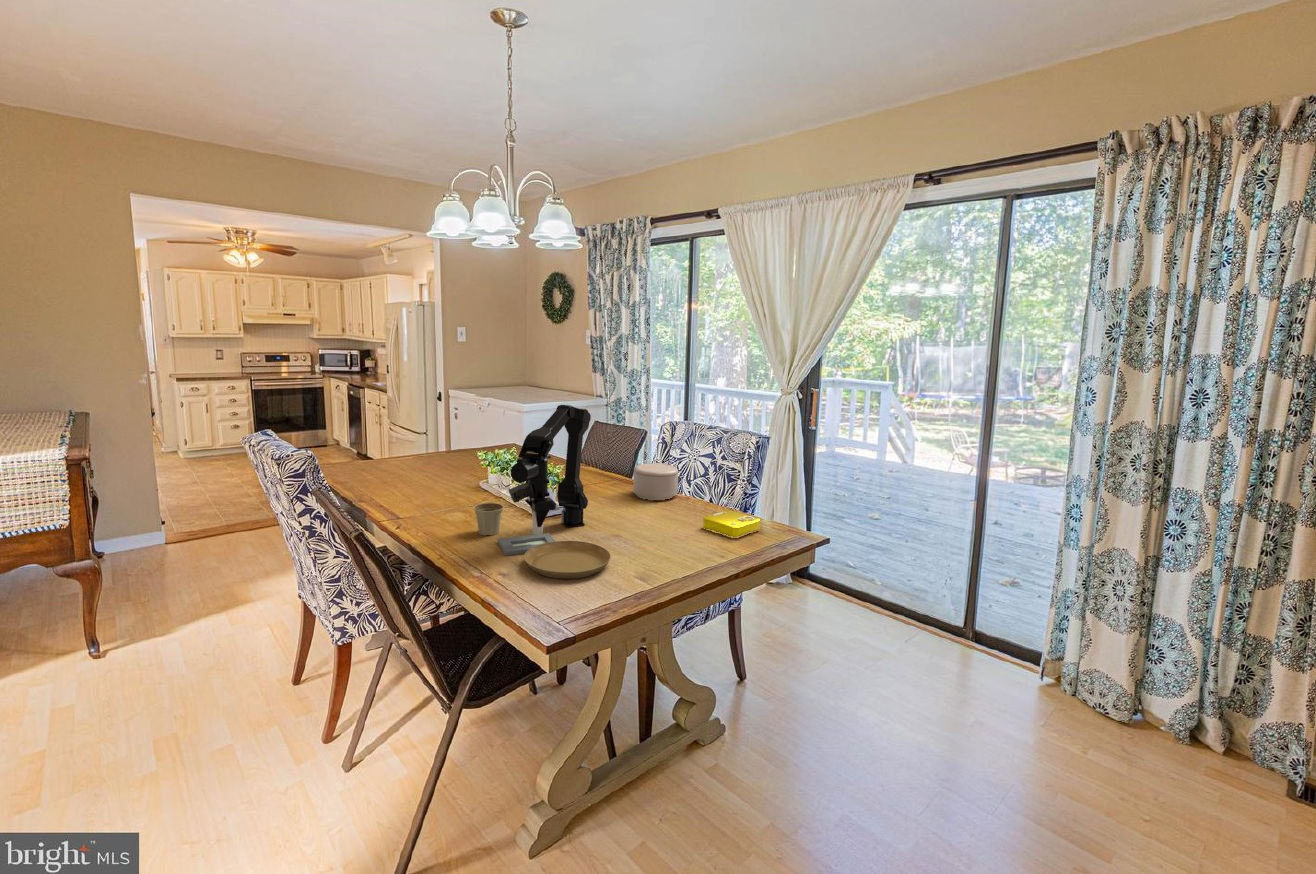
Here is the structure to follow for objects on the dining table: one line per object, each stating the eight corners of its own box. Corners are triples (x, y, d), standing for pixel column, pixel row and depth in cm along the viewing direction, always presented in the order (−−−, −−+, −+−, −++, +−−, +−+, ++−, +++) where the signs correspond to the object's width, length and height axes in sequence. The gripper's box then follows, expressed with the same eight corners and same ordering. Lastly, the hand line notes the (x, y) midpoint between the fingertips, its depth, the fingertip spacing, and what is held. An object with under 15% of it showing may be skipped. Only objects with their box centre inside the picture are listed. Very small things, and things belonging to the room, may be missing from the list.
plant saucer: (620, 556, 184) (621, 545, 183) (594, 588, 161) (594, 576, 160) (544, 547, 189) (545, 536, 188) (508, 576, 166) (508, 565, 165)
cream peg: (541, 530, 191) (541, 504, 190) (544, 534, 189) (544, 506, 187) (531, 531, 190) (531, 504, 189) (533, 535, 187) (533, 507, 186)
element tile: (727, 520, 222) (728, 507, 221) (761, 531, 212) (762, 517, 211) (700, 529, 212) (700, 515, 211) (734, 540, 201) (735, 526, 200)
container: (637, 502, 240) (637, 472, 238) (629, 490, 257) (630, 462, 255) (682, 501, 244) (683, 472, 242) (671, 489, 261) (673, 462, 259)
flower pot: (495, 538, 194) (495, 512, 192) (468, 535, 196) (467, 509, 194) (508, 529, 203) (508, 504, 201) (482, 526, 205) (482, 501, 203)
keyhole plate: (548, 536, 197) (548, 533, 197) (559, 549, 187) (559, 545, 186) (497, 542, 191) (497, 538, 191) (505, 555, 180) (505, 551, 180)
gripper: (504, 470, 191) (505, 518, 194) (517, 485, 175) (518, 537, 177) (540, 468, 196) (540, 515, 199) (556, 482, 179) (556, 533, 182)
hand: (538, 525), depth 189 cm, fingers closed on cream peg, 3 cm apart
